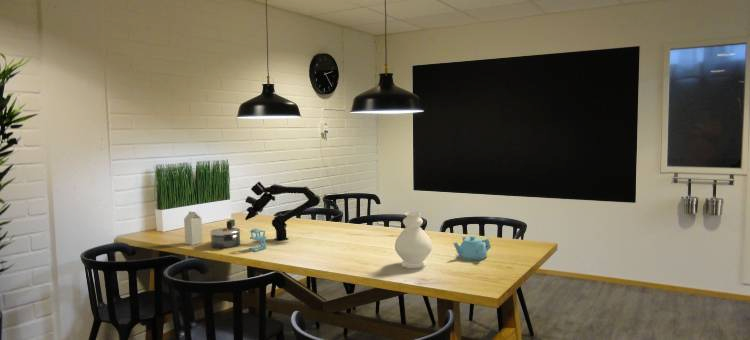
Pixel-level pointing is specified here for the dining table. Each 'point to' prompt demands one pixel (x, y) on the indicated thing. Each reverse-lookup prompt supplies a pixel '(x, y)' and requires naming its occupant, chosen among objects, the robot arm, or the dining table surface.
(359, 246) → the dining table surface
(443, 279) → the dining table surface
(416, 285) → the dining table surface
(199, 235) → the milk carton
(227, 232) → the cooker lid
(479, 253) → the teapot
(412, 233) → the decorative vase
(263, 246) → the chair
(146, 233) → the dining table surface
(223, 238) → the cooker pot
